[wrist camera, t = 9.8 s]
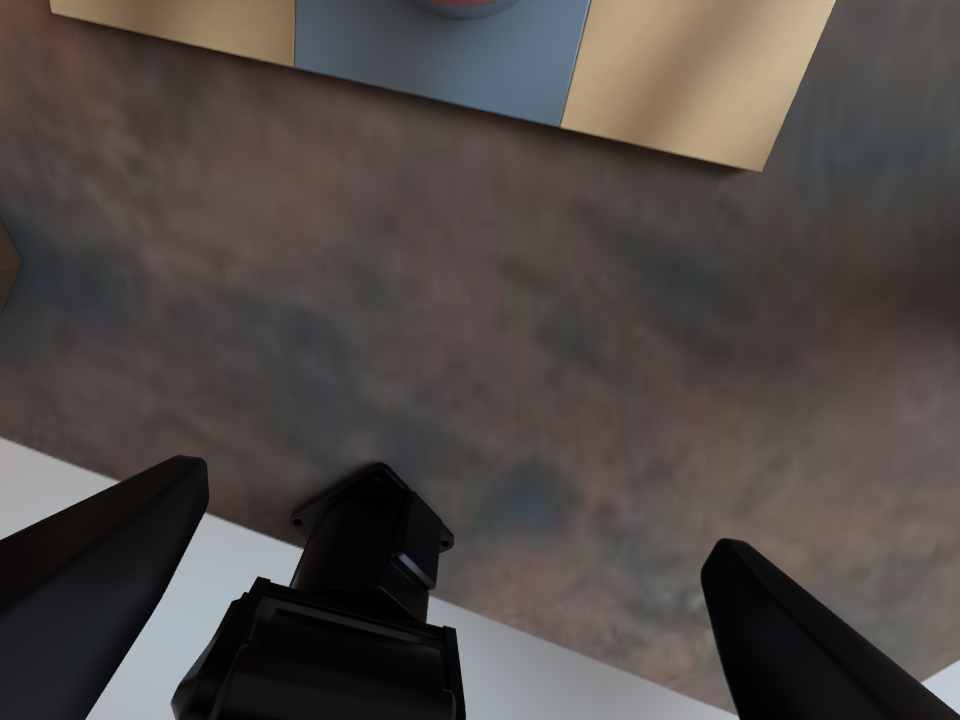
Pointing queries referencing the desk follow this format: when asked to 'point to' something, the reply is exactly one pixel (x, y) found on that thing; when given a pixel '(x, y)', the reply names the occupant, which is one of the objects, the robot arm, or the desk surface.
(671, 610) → the desk surface
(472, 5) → the tin can
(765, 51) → the board
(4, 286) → the beer bottle
